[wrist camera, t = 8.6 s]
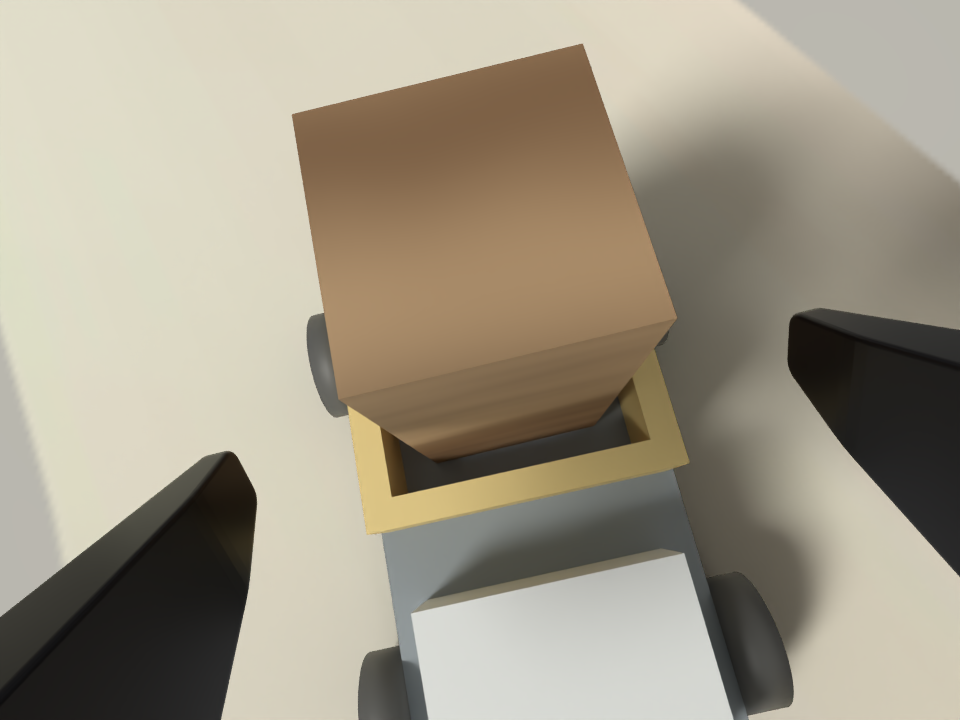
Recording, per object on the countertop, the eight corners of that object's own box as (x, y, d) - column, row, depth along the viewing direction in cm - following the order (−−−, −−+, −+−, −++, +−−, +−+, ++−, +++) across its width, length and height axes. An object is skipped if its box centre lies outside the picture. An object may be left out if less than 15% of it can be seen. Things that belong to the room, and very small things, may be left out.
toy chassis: (764, 718, 18) (859, 796, 13) (404, 796, 18) (359, 903, 13) (619, 247, 22) (647, 169, 17) (331, 312, 22) (277, 253, 17)
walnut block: (593, 425, 18) (677, 318, 8) (437, 463, 18) (338, 399, 8) (552, 281, 19) (582, 43, 10) (406, 315, 19) (292, 114, 10)
